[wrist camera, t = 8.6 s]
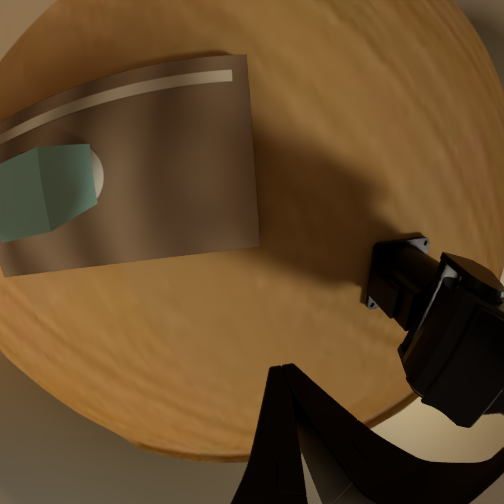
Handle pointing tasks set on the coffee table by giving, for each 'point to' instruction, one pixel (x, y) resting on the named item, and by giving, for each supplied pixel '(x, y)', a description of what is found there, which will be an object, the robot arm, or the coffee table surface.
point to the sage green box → (44, 189)
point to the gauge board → (147, 165)
